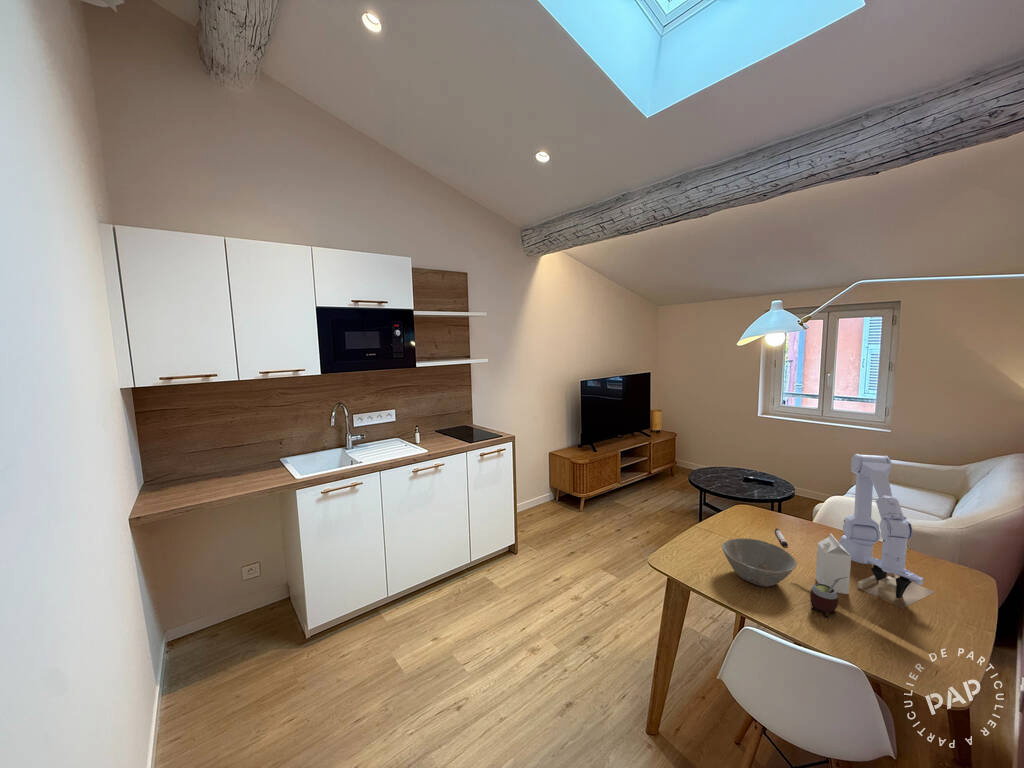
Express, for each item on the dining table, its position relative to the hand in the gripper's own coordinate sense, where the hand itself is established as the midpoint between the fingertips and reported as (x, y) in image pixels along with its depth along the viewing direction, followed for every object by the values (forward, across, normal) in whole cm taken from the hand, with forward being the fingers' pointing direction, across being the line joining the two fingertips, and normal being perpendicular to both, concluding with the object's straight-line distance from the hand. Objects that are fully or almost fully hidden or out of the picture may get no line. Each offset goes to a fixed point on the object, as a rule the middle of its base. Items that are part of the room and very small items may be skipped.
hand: (890, 593), depth 132 cm
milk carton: (+3, -11, -12) cm, 16 cm away
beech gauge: (+1, 0, 0) cm, 1 cm away
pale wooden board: (+2, -1, +6) cm, 6 cm away
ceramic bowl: (+3, -26, -28) cm, 39 cm away
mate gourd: (+3, -5, -26) cm, 26 cm away
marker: (+3, -42, +8) cm, 43 cm away
